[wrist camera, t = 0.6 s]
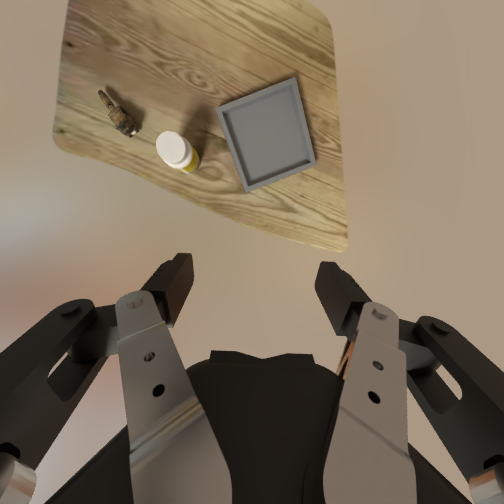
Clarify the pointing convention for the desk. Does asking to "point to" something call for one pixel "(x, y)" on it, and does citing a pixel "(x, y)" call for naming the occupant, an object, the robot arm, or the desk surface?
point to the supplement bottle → (177, 152)
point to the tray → (267, 134)
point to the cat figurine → (119, 117)
